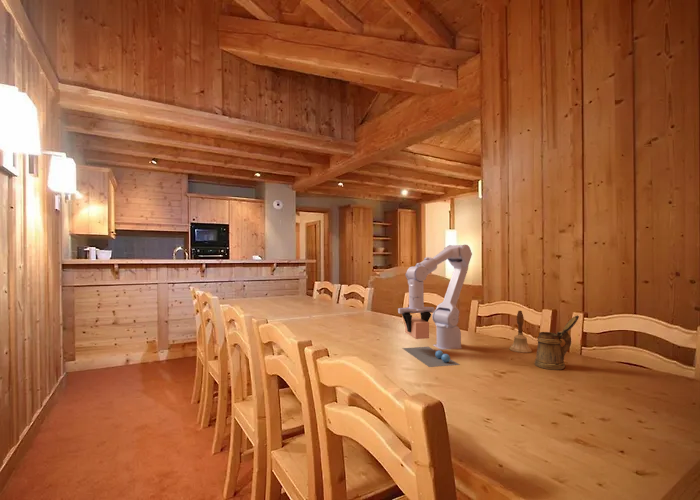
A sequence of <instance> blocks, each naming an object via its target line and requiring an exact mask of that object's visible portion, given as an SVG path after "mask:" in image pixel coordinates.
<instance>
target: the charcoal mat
mask: <svg viewBox="0 0 700 500" xmlns="http://www.w3.org/2000/svg"><path fill="white" fill-rule="evenodd" d="M402 350H404V351H406V353H408V354H410V355H411V356H413V357H414V358H415V359H416V360H419V361H420V362H421V363H422V364H424V365H425V366H426V367H428V368H435V367H437V368H438V367H448V366H450V367H451V366H460V365H461V364H460V363H458V362H456V361H454V360H453V359H451V358H450V361H449V362H447V363H446V362H443V361H442V359H438V358H437V357H436V355H435V353H436V351H437V350H435V349H434V348H432V347H430V346H420V347H418V346H417V347H403V348H402Z"/></svg>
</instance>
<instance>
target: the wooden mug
mask: <svg viewBox="0 0 700 500" xmlns="http://www.w3.org/2000/svg"><path fill="white" fill-rule="evenodd" d="M579 319H580V316H579V315H575V316H573V317H572V318H570V319H568V320H569V321H567V323H566V324H565V326H564V327H563V330H562V331H557V332H556V333H555V332H550V331H549V332H548V331H539V332H538V337H537V348H536V357H535V360H534V365H535V366H536V367H538V368H540V369H545V370H554V371H558V370H559V371H561V370H564V369H565V367H566V364H565V361H564V360H565V355H566V354H567V352H568V351H569V349H570V347H571V345H572V337H571V335H570V333H569V331H570V330H571V329H572V328H573V327H574V326H575V325H576V323H577V322H578V321H579ZM562 340H563V341H564V345H562V346H561V344H562V343H563V341H562Z"/></svg>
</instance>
